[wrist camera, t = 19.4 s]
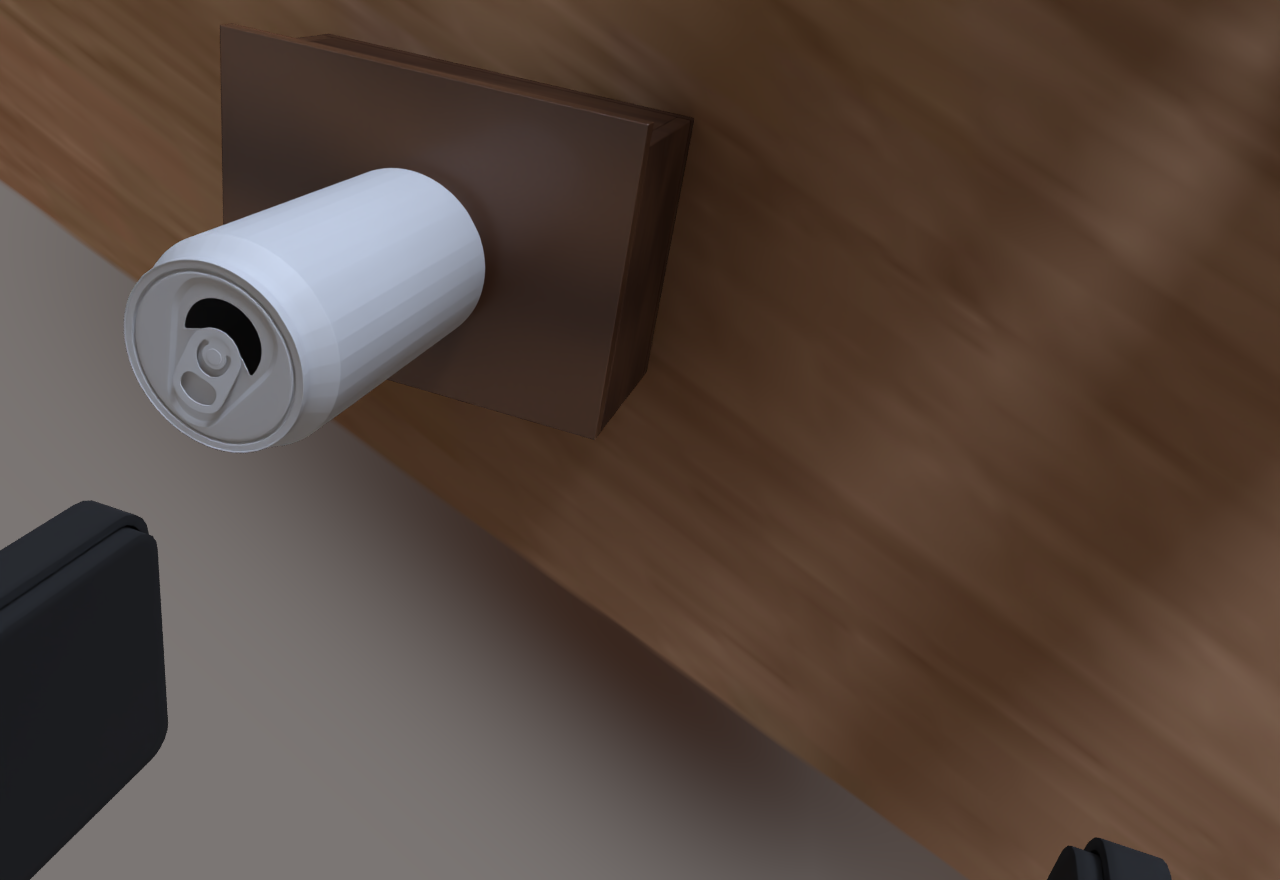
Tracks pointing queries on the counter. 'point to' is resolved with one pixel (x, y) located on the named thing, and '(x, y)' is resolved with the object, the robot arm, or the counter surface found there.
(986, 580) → the counter surface
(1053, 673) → the counter surface
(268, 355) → the beverage can
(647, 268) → the chest
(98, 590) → the robot arm
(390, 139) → the chest lid
